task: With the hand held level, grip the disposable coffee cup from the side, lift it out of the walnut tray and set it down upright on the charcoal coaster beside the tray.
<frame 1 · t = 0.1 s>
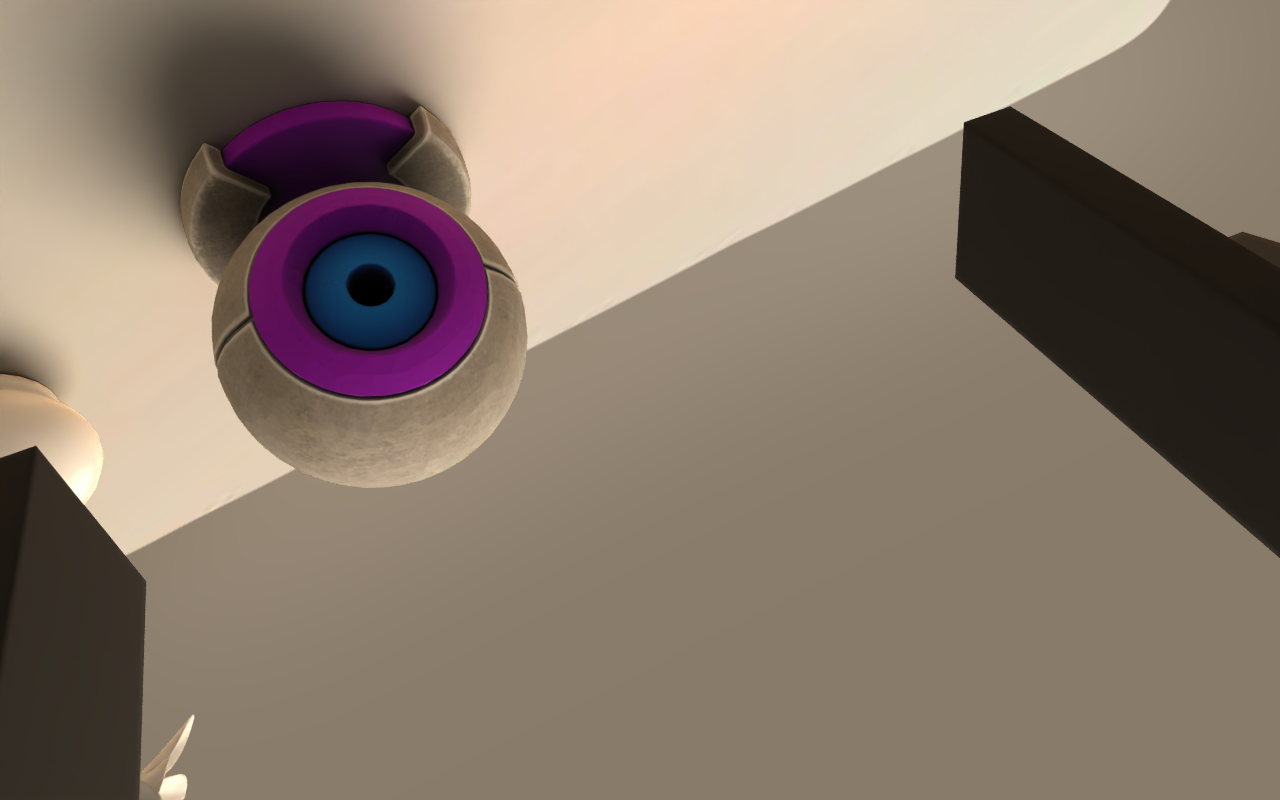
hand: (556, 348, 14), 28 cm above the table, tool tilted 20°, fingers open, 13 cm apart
webcam: (329, 198, 47), on the table
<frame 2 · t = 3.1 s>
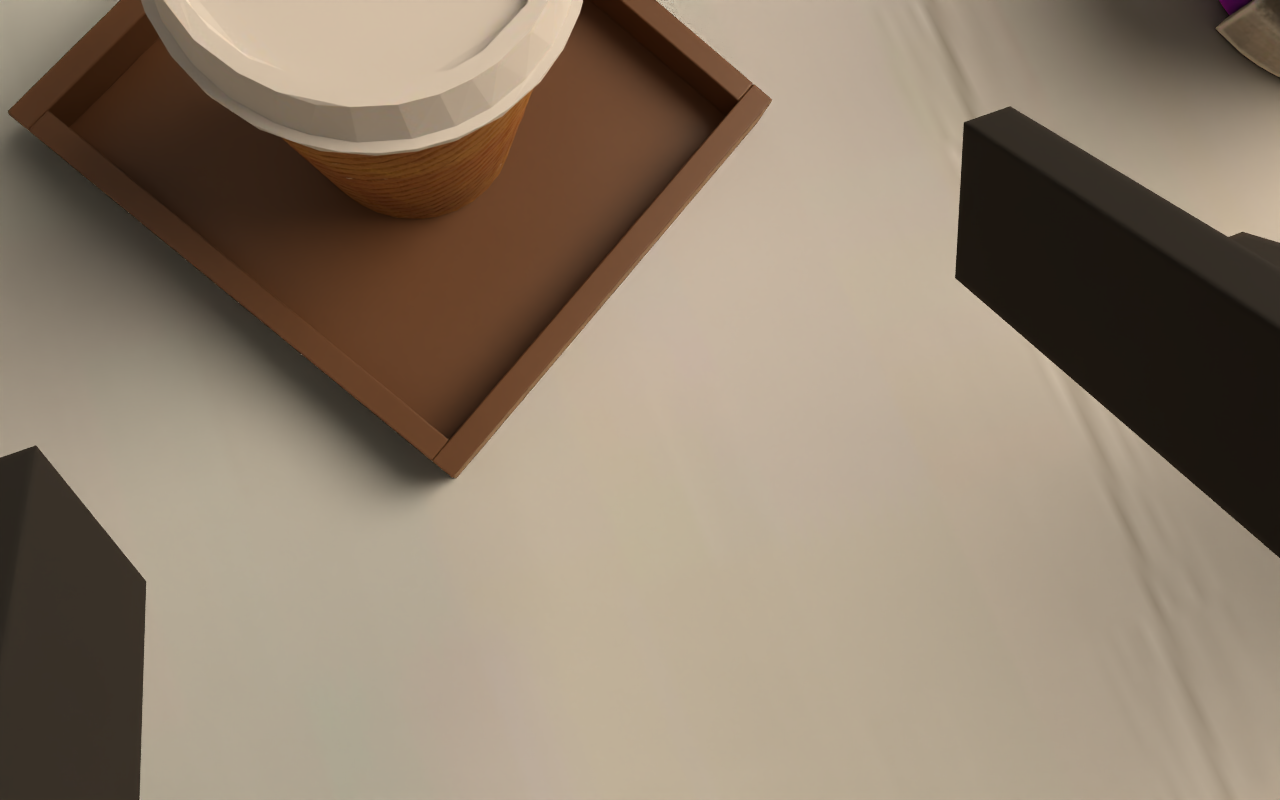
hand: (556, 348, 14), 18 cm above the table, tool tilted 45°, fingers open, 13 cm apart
disposable coffee cup: (414, 125, 32), resting on tray
tray: (414, 128, 32), on the table
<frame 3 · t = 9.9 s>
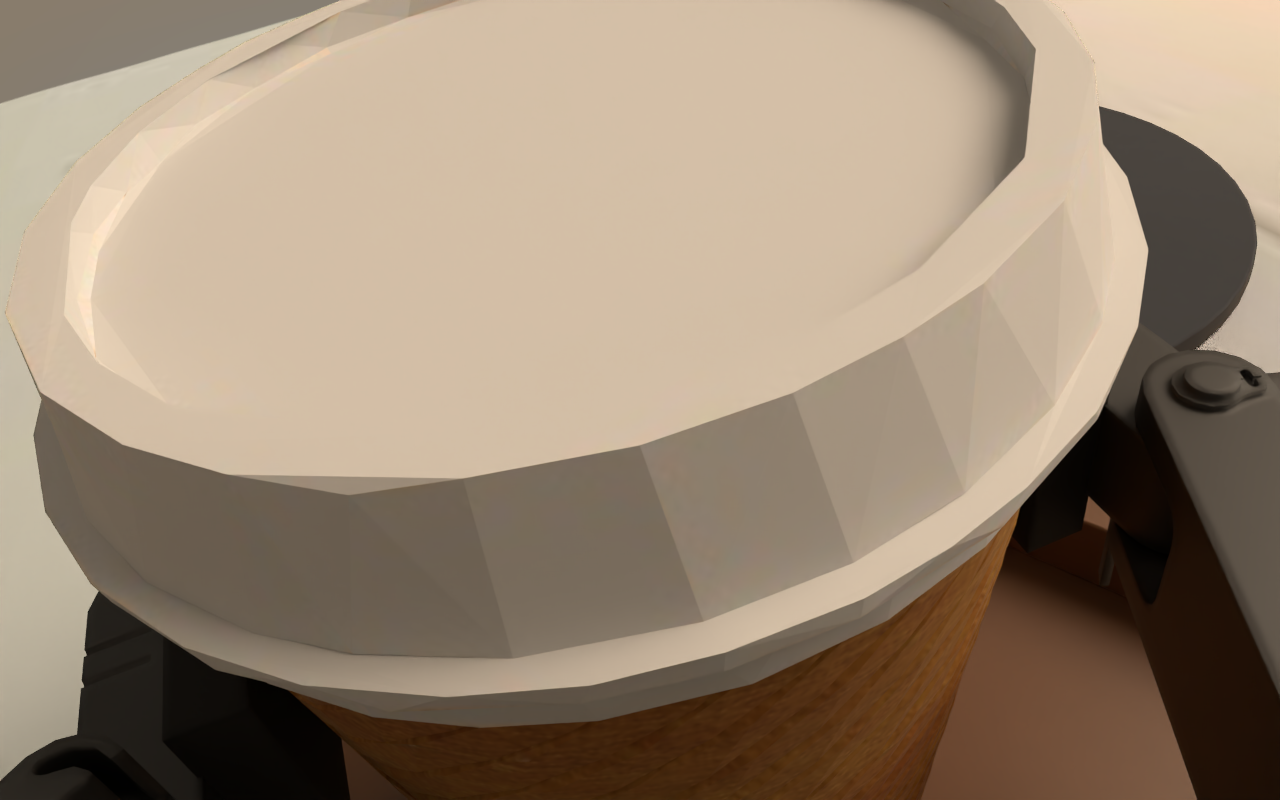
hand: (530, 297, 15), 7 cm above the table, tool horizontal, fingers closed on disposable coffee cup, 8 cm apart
disposable coffee cup: (710, 793, 16), resting on tray, touching gripper
tray: (711, 799, 16), on the table
coaster: (955, 232, 27), on the table
when the fingers open (8 cm above the table, at t = 19.4 s): disposable coffee cup stays where it is, resting on coaster.
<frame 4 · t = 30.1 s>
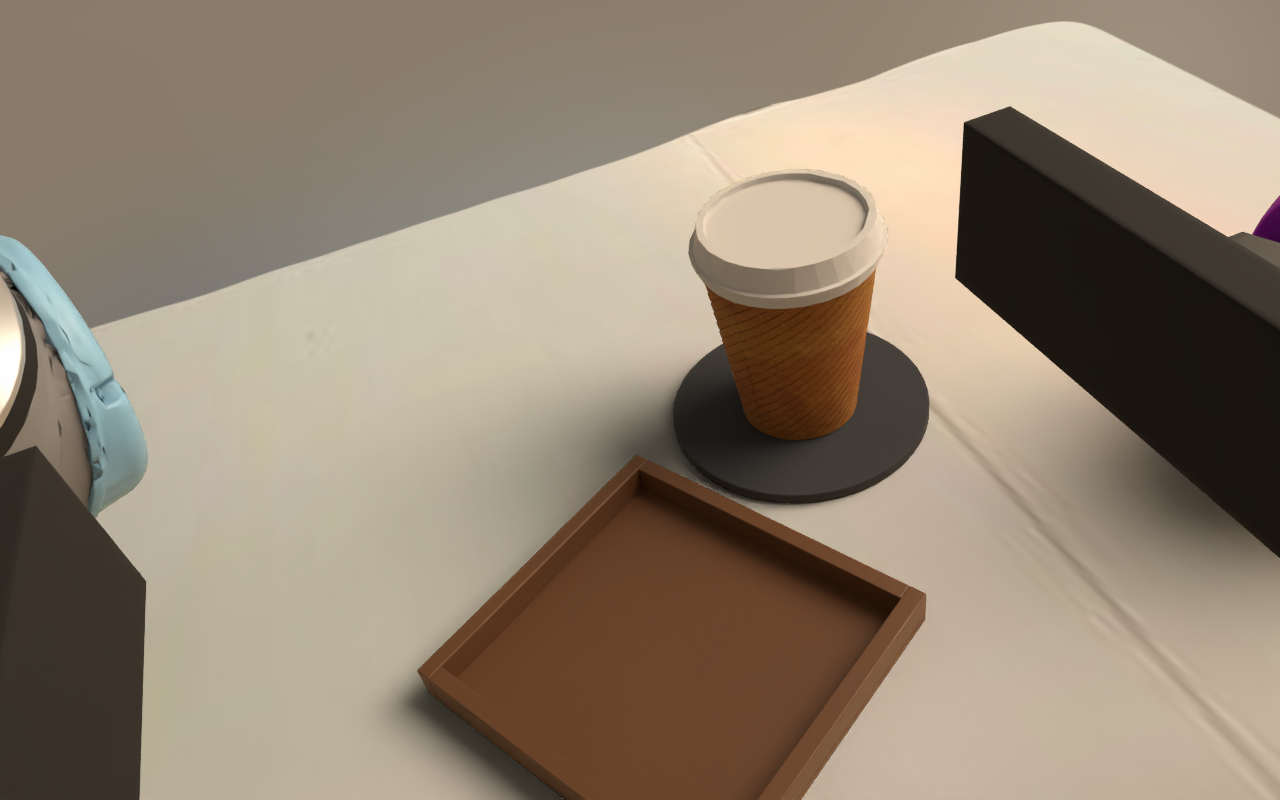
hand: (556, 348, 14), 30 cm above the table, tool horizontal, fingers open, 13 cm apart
disposable coffee cup: (799, 403, 55), resting on coaster
tray: (673, 656, 45), on the table
coaster: (798, 408, 55), on the table
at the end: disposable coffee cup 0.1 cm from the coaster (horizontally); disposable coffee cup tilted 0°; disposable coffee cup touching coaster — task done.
